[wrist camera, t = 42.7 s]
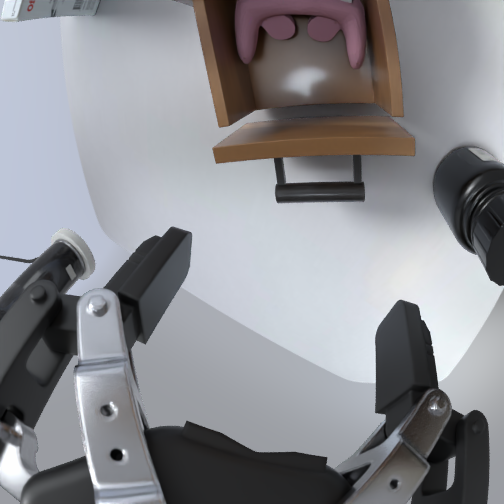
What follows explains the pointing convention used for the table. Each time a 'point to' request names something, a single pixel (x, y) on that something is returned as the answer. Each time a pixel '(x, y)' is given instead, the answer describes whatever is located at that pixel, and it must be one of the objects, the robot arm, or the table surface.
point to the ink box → (46, 9)
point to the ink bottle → (474, 205)
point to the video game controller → (319, 25)
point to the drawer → (304, 96)
